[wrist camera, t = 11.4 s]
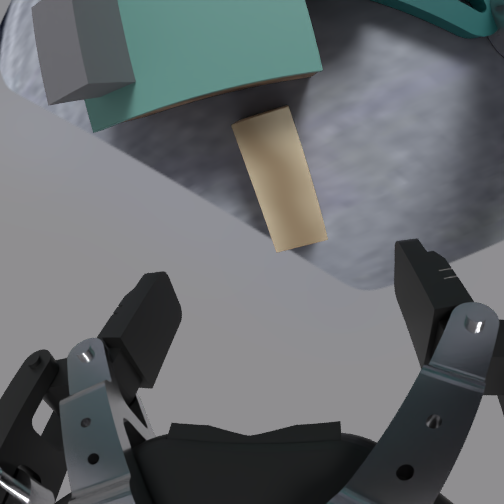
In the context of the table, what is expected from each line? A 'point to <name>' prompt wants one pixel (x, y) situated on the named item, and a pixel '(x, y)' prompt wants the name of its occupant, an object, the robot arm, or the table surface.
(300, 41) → the lid
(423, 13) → the bracket
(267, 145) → the pale wooden block
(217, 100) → the table surface
